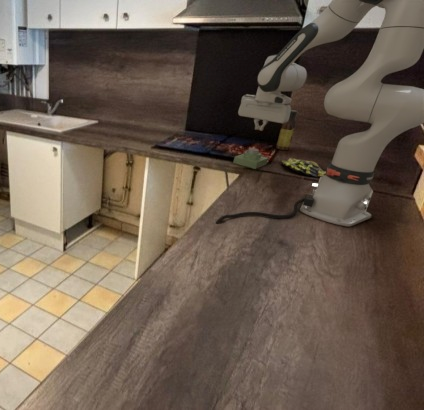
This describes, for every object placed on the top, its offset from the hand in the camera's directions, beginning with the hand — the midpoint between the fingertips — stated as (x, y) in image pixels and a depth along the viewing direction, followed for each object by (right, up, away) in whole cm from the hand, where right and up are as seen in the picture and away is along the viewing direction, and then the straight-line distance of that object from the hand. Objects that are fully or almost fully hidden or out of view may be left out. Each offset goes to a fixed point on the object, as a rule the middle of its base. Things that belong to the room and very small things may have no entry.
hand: (258, 130), depth 153 cm
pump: (-1, -10, +4) cm, 10 cm away
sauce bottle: (+29, -3, +35) cm, 46 cm away
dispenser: (-1, -14, +6) cm, 15 cm away
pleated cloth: (+20, -17, +2) cm, 26 cm away
